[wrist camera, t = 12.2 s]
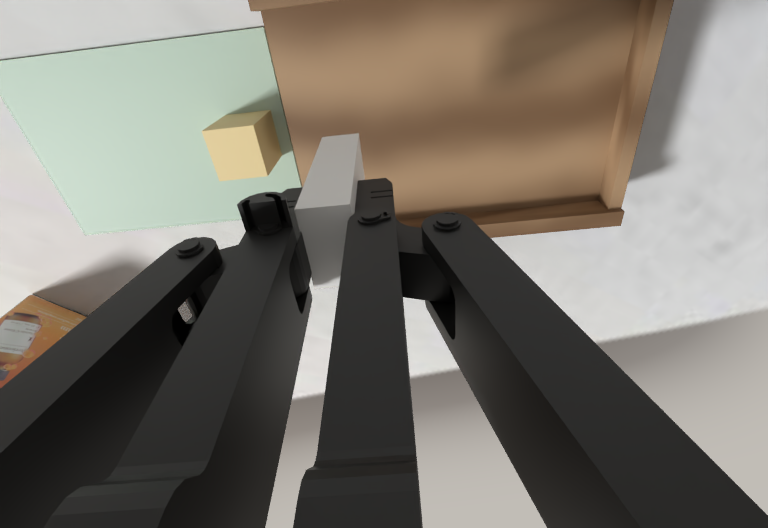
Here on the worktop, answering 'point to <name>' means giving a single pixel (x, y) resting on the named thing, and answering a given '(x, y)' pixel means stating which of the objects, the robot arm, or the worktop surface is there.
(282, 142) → the cover plate
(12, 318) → the small box
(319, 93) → the wooden tray
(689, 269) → the worktop surface
